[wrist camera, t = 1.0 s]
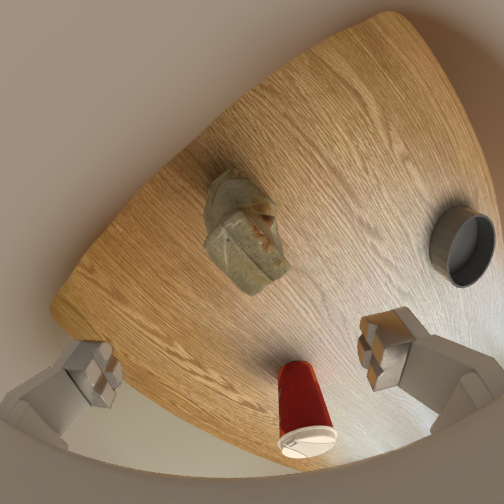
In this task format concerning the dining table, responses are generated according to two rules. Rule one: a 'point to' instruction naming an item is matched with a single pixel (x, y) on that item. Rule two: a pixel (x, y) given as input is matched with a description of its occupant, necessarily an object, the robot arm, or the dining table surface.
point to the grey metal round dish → (462, 245)
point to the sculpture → (243, 232)
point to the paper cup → (302, 413)
